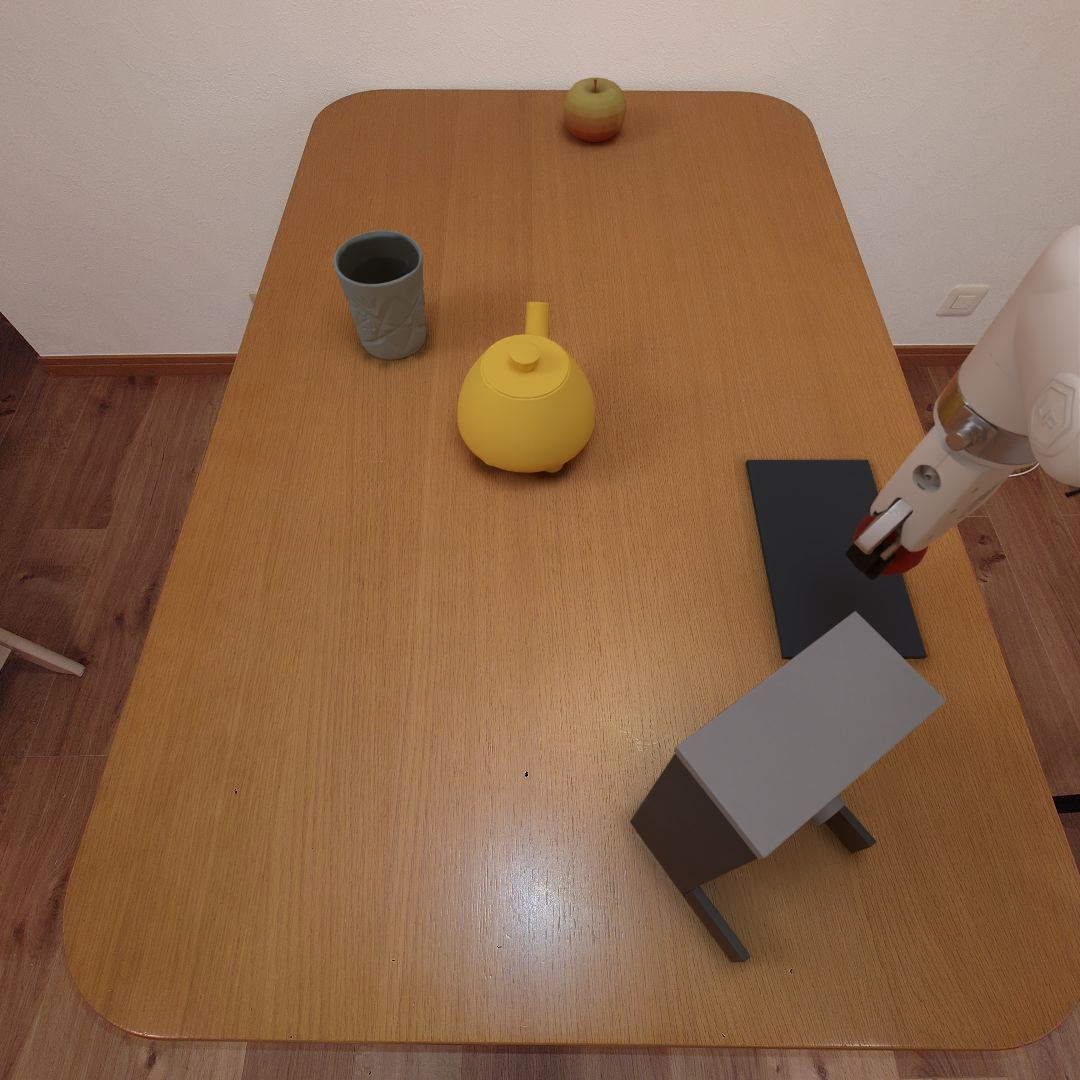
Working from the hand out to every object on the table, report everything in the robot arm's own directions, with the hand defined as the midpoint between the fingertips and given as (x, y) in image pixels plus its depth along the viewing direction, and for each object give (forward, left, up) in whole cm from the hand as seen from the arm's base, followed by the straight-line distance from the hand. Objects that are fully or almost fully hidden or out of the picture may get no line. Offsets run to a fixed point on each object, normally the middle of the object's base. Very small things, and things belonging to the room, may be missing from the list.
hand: (887, 546), depth 63 cm
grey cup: (+60, +18, -12) cm, 64 cm away
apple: (+82, -31, -12) cm, 88 cm away
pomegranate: (0, 0, -3) cm, 3 cm away
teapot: (+38, +12, -12) cm, 42 cm away
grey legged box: (-10, +23, -12) cm, 28 cm away
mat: (+5, -4, -12) cm, 14 cm away
